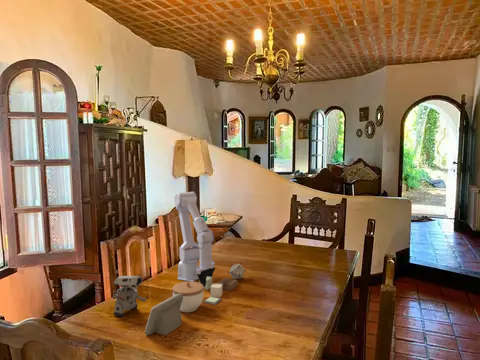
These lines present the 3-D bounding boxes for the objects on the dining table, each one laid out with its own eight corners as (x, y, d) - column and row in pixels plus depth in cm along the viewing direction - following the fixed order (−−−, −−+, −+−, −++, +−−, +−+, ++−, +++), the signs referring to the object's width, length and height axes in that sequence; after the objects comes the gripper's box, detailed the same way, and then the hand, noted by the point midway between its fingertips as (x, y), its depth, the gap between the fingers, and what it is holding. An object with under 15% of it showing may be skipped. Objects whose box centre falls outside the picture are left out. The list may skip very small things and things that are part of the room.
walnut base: (217, 288, 165) (217, 282, 165) (224, 283, 172) (224, 277, 171) (230, 291, 162) (230, 284, 162) (237, 286, 169) (237, 280, 168)
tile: (202, 302, 149) (202, 300, 149) (209, 297, 154) (209, 295, 154) (215, 305, 146) (215, 303, 146) (221, 299, 152) (221, 298, 152)
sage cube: (199, 288, 165) (199, 278, 165) (204, 284, 169) (204, 275, 169) (207, 289, 163) (207, 280, 163) (212, 286, 167) (212, 277, 167)
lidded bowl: (178, 318, 135) (177, 290, 134) (168, 305, 146) (168, 279, 145) (208, 311, 140) (208, 284, 140) (197, 299, 152) (197, 275, 151)
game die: (239, 287, 176) (243, 276, 169) (224, 280, 177) (227, 268, 171) (245, 274, 182) (249, 262, 176) (231, 267, 184) (234, 255, 178)
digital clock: (175, 316, 136) (175, 289, 135) (190, 323, 130) (190, 296, 130) (139, 332, 124) (138, 303, 123) (154, 341, 118) (153, 310, 117)
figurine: (134, 320, 133) (133, 282, 132) (110, 315, 137) (109, 277, 136) (149, 310, 141) (148, 274, 140) (126, 305, 145) (125, 270, 144)
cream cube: (210, 296, 155) (210, 287, 155) (212, 292, 159) (212, 283, 159) (220, 297, 154) (220, 287, 154) (222, 293, 159) (222, 284, 158)
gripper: (205, 261, 157) (205, 291, 158) (220, 253, 170) (220, 280, 171) (191, 259, 160) (192, 288, 161) (207, 251, 173) (207, 278, 174)
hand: (205, 284), depth 166 cm, fingers closed on sage cube, 4 cm apart
